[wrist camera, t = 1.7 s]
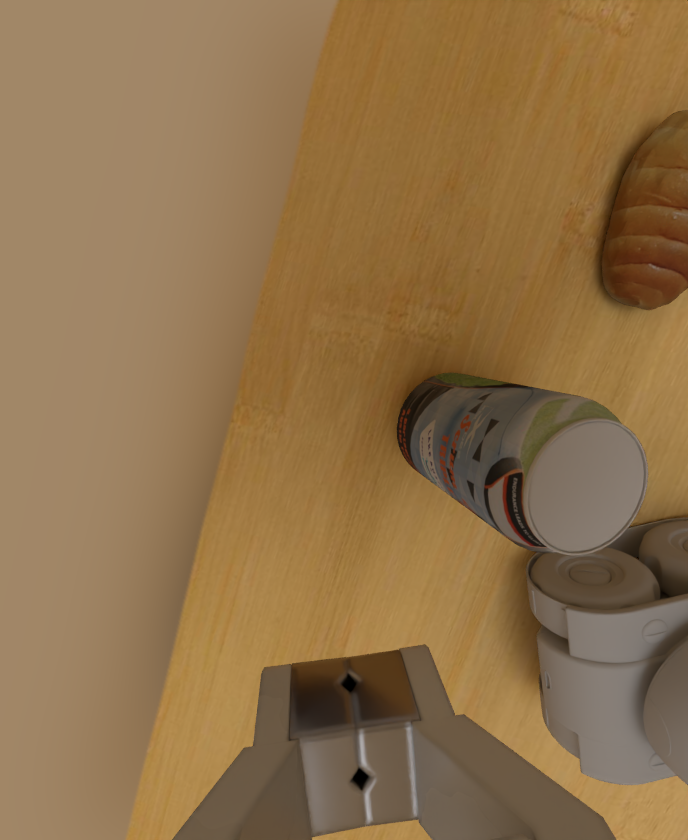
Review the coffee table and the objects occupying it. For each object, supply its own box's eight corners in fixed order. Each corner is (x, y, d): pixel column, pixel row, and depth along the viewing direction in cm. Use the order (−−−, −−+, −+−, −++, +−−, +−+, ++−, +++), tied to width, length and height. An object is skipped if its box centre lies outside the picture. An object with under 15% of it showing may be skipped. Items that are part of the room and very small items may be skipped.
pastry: (663, 327, 27) (720, 329, 23) (564, 282, 26) (608, 275, 22) (746, 165, 25) (822, 139, 22) (645, 110, 24) (706, 73, 21)
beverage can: (378, 389, 26) (440, 446, 15) (500, 349, 26) (659, 372, 15) (408, 488, 28) (486, 611, 16) (524, 449, 28) (685, 543, 16)
